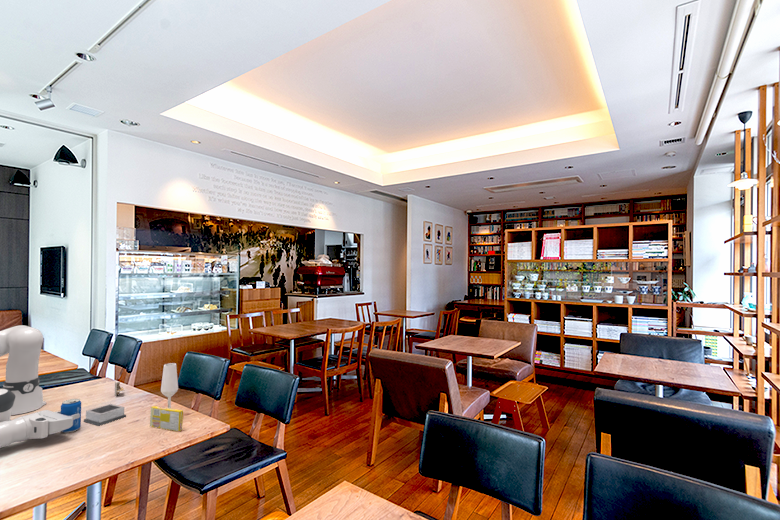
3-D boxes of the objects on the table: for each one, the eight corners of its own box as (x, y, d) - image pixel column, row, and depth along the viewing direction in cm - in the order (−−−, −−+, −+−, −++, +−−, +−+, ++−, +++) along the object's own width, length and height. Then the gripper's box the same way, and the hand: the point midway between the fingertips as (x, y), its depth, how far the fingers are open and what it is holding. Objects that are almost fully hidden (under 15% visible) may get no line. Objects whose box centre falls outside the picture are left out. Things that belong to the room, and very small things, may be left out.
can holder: (83, 421, 166) (83, 411, 166) (110, 413, 176) (111, 403, 176) (98, 426, 162) (99, 415, 162) (125, 417, 172) (126, 406, 172)
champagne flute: (161, 423, 165) (163, 367, 165) (158, 418, 170) (159, 364, 170) (179, 419, 169) (180, 364, 170) (175, 415, 174) (176, 361, 175)
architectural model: (122, 394, 204) (122, 380, 205) (124, 397, 199) (124, 382, 199) (114, 395, 202) (114, 381, 202) (116, 398, 197) (116, 384, 197)
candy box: (183, 430, 158) (183, 410, 158) (178, 432, 156) (179, 411, 156) (153, 425, 163) (154, 405, 164) (149, 426, 161) (149, 407, 162)
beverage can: (68, 434, 153) (69, 404, 153) (55, 433, 154) (56, 403, 155) (84, 428, 159) (85, 398, 160) (72, 426, 161) (72, 397, 161)
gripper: (16, 429, 150) (59, 417, 162) (44, 439, 141) (87, 425, 154) (17, 413, 150) (59, 402, 162) (45, 422, 141) (87, 409, 154)
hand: (73, 413), depth 158 cm, fingers closed on beverage can, 6 cm apart
